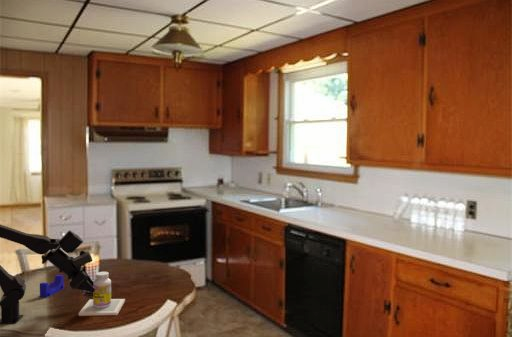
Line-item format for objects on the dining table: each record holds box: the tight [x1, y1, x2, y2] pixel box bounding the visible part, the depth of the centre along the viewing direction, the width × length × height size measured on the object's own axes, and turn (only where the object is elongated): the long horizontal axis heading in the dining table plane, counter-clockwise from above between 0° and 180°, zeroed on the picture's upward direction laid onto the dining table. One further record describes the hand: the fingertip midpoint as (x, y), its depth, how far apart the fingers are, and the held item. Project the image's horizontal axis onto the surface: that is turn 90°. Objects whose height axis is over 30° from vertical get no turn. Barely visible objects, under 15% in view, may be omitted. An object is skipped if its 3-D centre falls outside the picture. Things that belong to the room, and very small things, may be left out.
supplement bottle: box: [92, 271, 112, 308], centre depth 168 cm, size 7×7×13 cm
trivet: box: [78, 298, 126, 317], centre depth 168 cm, size 14×14×1 cm
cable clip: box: [39, 274, 65, 299], centre depth 184 cm, size 12×4×6 cm, turn 171°
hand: (93, 287), depth 166 cm, fingers open, 9 cm apart
